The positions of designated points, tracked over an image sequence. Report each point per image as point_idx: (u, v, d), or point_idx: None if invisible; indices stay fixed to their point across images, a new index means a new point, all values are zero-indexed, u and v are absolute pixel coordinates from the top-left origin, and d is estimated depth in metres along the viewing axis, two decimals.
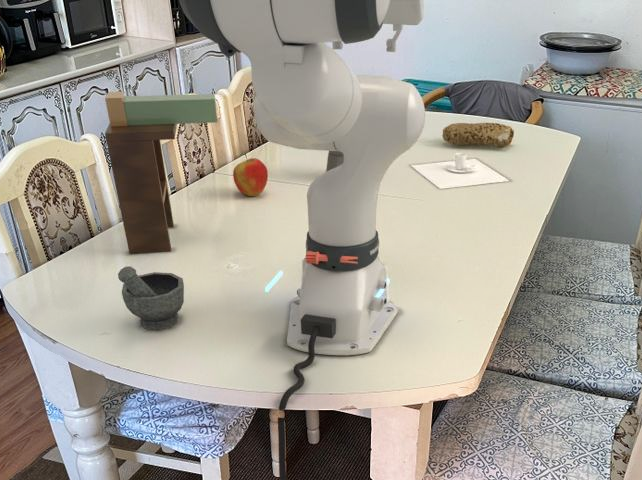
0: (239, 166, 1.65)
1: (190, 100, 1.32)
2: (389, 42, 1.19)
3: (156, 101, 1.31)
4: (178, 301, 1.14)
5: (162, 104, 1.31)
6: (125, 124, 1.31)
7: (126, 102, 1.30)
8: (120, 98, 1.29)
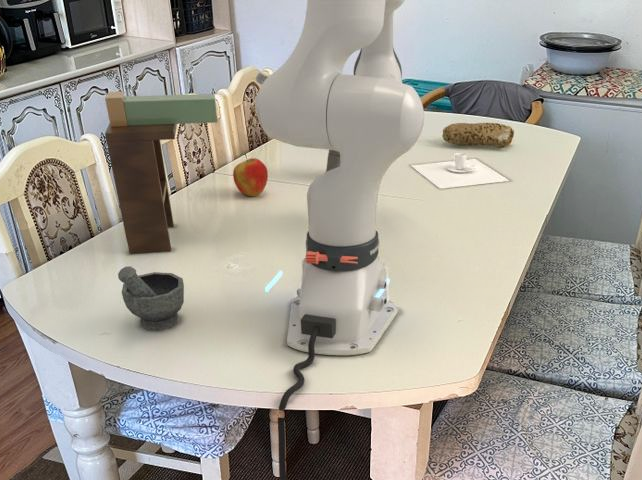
0: (239, 166, 1.65)
1: (190, 100, 1.32)
2: None
3: (156, 101, 1.31)
4: (178, 301, 1.14)
5: (162, 104, 1.31)
6: (125, 124, 1.31)
7: (126, 102, 1.30)
8: (120, 98, 1.29)
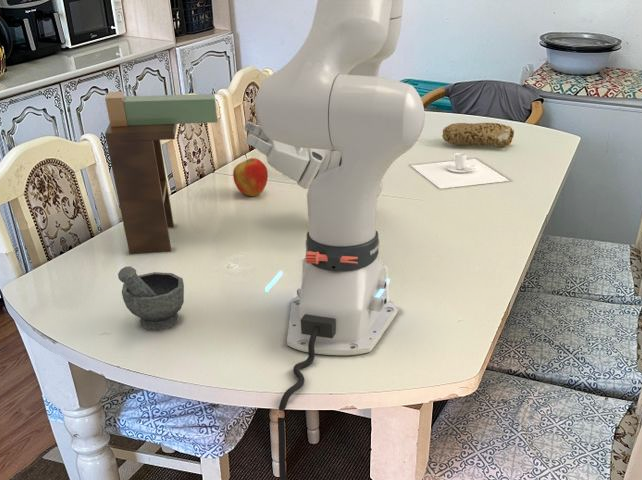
0: (239, 166, 1.65)
1: (190, 100, 1.32)
2: (257, 137, 1.36)
3: (156, 101, 1.31)
4: (178, 301, 1.14)
5: (162, 104, 1.31)
6: (125, 124, 1.31)
7: (126, 102, 1.30)
8: (120, 98, 1.29)
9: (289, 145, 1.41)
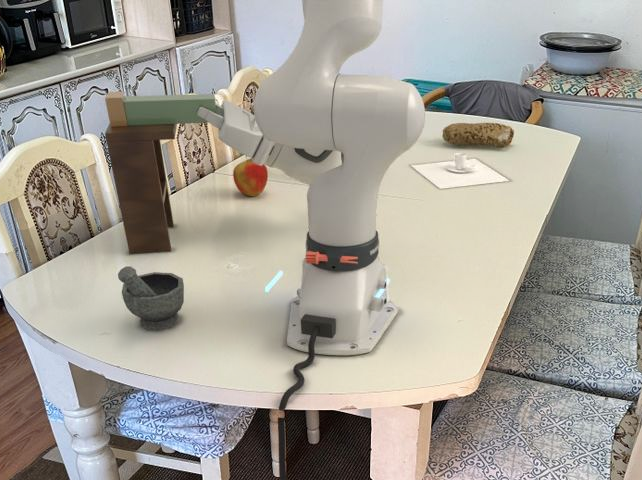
0: (239, 166, 1.65)
1: (190, 100, 1.32)
2: (208, 109, 1.33)
3: (156, 101, 1.31)
4: (178, 301, 1.14)
5: (162, 104, 1.31)
6: (125, 124, 1.31)
7: (126, 102, 1.30)
8: (120, 98, 1.29)
9: (243, 121, 1.36)
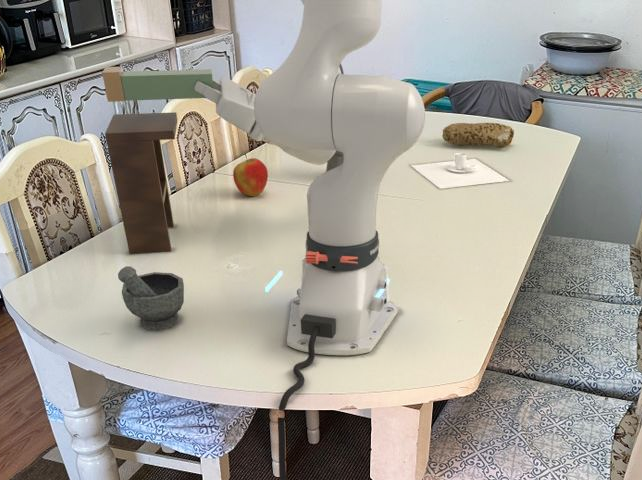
0: (239, 166, 1.65)
1: (187, 75, 1.32)
2: (205, 84, 1.33)
3: (153, 76, 1.31)
4: (178, 301, 1.14)
5: (159, 79, 1.31)
6: (122, 99, 1.31)
7: (123, 77, 1.29)
8: (117, 72, 1.29)
9: (240, 96, 1.36)
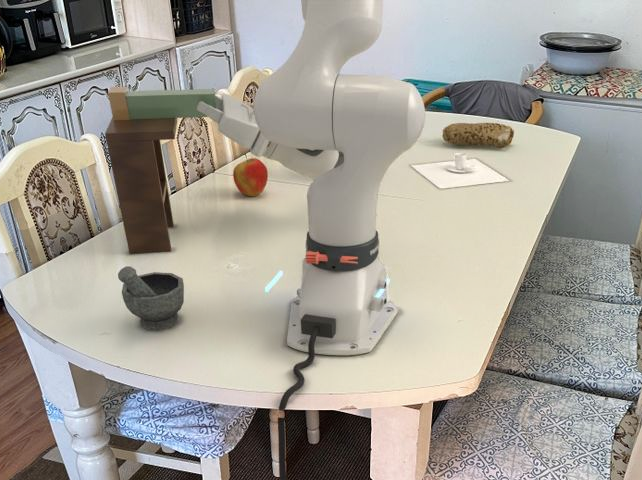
0: (239, 166, 1.65)
1: (191, 95, 1.36)
2: (207, 104, 1.35)
3: (157, 96, 1.34)
4: (178, 301, 1.14)
5: (163, 99, 1.35)
6: (127, 118, 1.35)
7: (128, 96, 1.33)
8: (123, 93, 1.32)
9: (242, 113, 1.40)
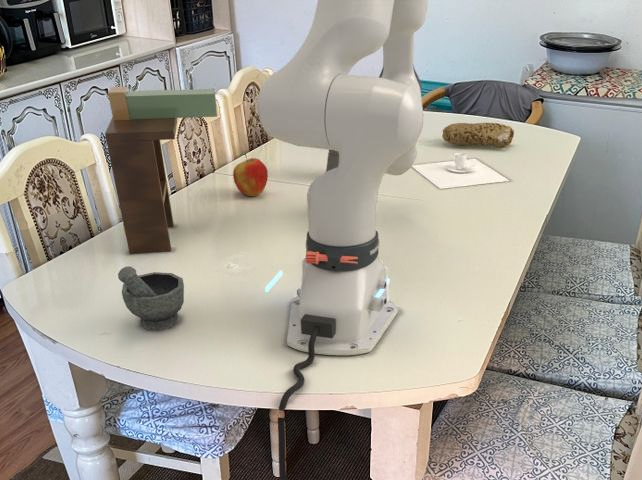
0: (239, 166, 1.65)
1: (191, 95, 1.36)
2: None
3: (157, 96, 1.34)
4: (178, 301, 1.14)
5: (163, 99, 1.35)
6: (127, 118, 1.35)
7: (128, 96, 1.33)
8: (123, 93, 1.32)
9: None
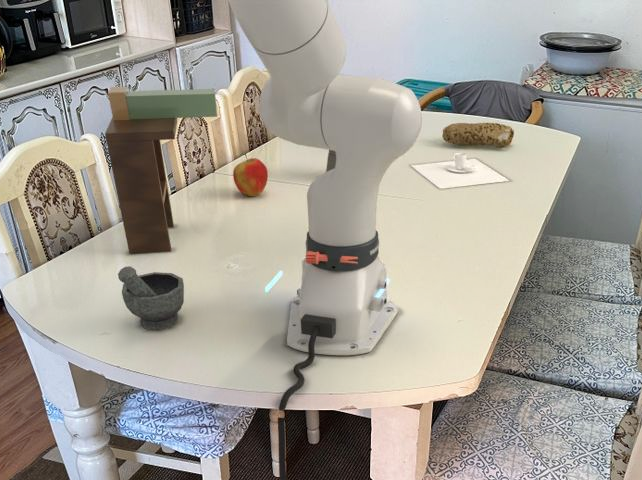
0: (239, 166, 1.65)
1: (191, 95, 1.36)
2: None
3: (157, 96, 1.34)
4: (178, 301, 1.14)
5: (163, 99, 1.35)
6: (127, 118, 1.35)
7: (128, 96, 1.33)
8: (123, 93, 1.32)
9: None
